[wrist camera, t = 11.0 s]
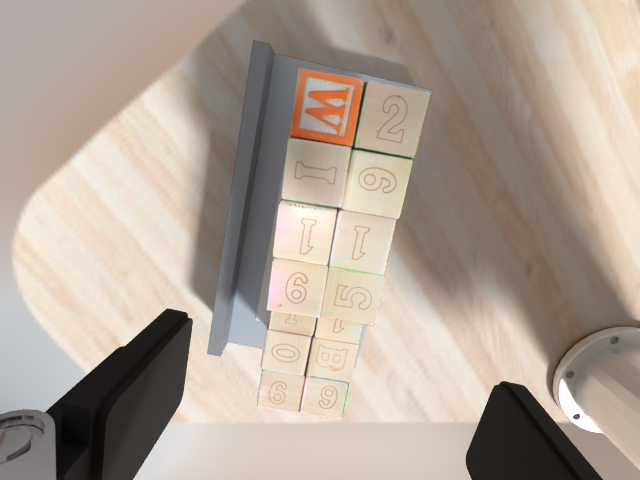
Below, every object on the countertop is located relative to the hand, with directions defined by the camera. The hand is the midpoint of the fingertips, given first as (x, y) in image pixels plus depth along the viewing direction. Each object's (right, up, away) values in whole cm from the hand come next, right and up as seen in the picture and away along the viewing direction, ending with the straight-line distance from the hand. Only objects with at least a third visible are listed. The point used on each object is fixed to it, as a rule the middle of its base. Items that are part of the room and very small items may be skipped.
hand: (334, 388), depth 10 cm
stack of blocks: (0, +5, +20) cm, 20 cm away
